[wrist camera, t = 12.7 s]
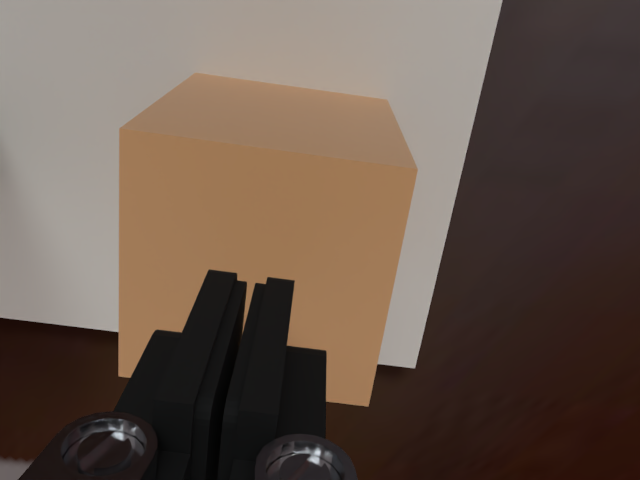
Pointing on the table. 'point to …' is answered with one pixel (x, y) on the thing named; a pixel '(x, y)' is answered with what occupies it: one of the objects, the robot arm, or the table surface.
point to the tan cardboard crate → (265, 214)
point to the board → (228, 61)
